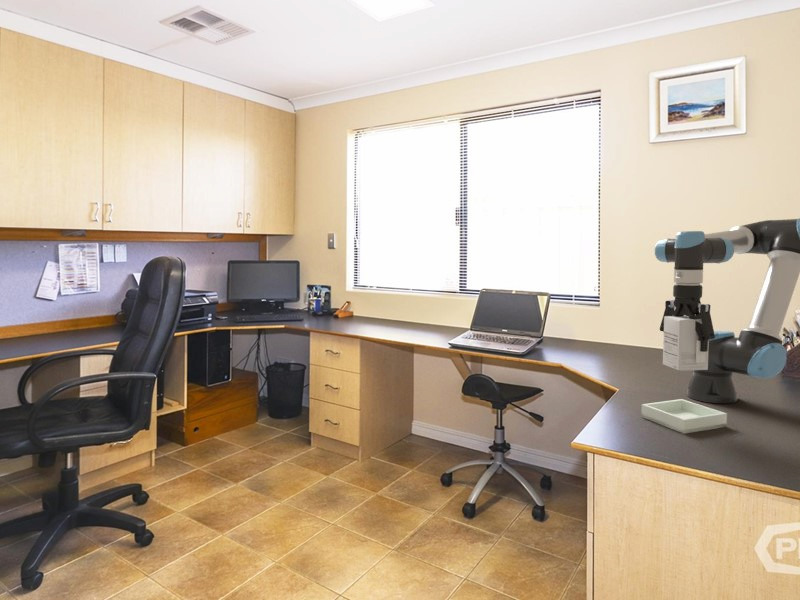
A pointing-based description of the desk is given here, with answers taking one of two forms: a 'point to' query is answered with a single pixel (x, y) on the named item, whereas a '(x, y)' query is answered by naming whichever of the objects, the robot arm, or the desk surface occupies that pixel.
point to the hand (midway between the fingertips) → (684, 358)
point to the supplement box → (681, 344)
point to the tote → (684, 416)
